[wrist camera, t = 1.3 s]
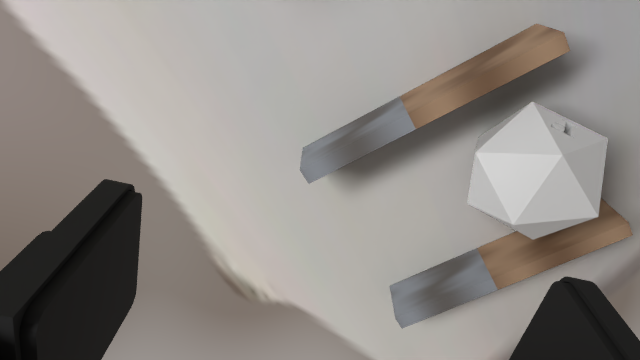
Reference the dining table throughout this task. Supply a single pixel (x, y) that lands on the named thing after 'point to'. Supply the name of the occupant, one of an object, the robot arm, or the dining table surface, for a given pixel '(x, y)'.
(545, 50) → the channel
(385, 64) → the dining table surface
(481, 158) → the die
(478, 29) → the dining table surface
